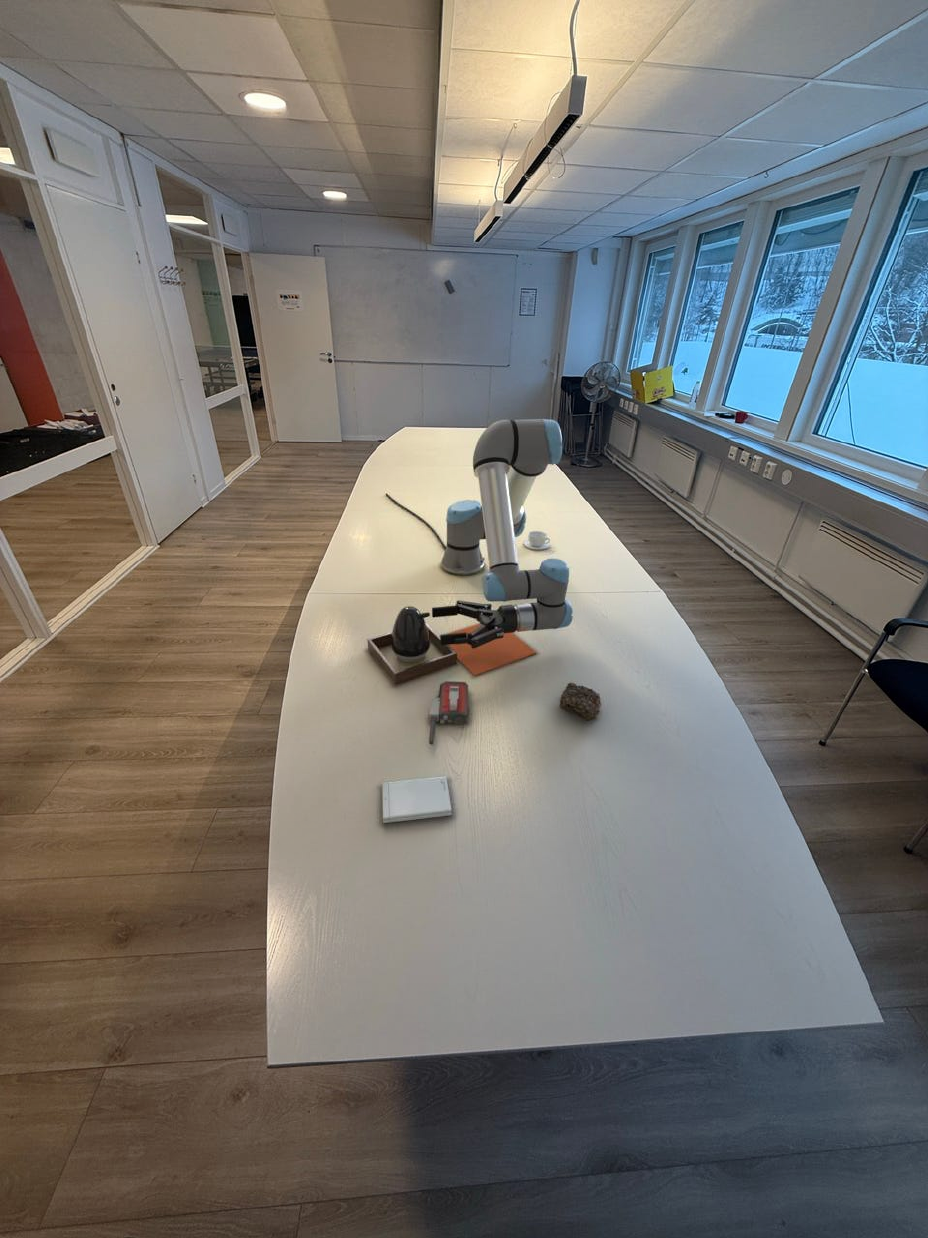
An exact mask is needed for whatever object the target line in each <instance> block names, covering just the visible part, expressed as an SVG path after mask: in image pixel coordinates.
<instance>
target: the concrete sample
mask: <svg viewBox="0 0 928 1238" xmlns="http://www.w3.org/2000/svg"><path fill="white" fill-rule="evenodd" d="M600 695H601V694H600V693H598V692H596V691H595V690H594V689H593V688H589V687H586V686H584V685H577V684H576V683H574V682H569V683H567V685H566V687H565V688H564V690H563V691H562V694H561V696H560V701H559V702H560V703H559V708H560V709H561V710H565V711H566V712H569V713H570V714H572V715H576V716H577V717H579V718H581V719H583V720H584V721H587V722H588V721H594V720H595V719H596V718H597V716H599V713H600V711H601V707H602V702H601V700H602V699H601V696H600Z"/></svg>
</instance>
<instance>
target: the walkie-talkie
mask: <svg viewBox="0 0 928 1238" xmlns="http://www.w3.org/2000/svg"><path fill="white" fill-rule="evenodd" d="M468 703H469V684H468V683H467V682H465V681H453V680H452V681H451V680H450V681H448V680H445V681H443V682H442V683H440V685H439V693H438V696H437V697H436V698H435V699H434V700H433V701H432V702H430V708H429V712H428V721H430V727H429V737H428V744H429V745H431V746H432V745H433V744H434V742H435V733H436V723H437V722H438V723H440V724H442V725H443V724H455V725H462V724H467V723H468V719H469V704H468Z"/></svg>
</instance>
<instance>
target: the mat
mask: <svg viewBox="0 0 928 1238" xmlns="http://www.w3.org/2000/svg"><path fill="white" fill-rule="evenodd" d="M480 626H481V624H480V623H477V624H474V625H471V626H468V627H465V628H462V629H458V630H455V631H452V632H449V633H448V634H454V633H464V632H466V633H467V634H469V633H471V632H472V631H474V630H475V629H477V628H478V627H480ZM476 643H477V641H476ZM449 646H450V647H451V648H452V649H453V650H454V651H455V652H456V653H457V661H458V662H460V664H461V665H462V666H463V667H464V668H465V669H467V670H468V671H469V673H471V674H472V676H474V677H477V676H479V675H482V674H485V673H487V672H490V671H493V670H496V669H498V668H501V667H504V666H507V665H508V664H509V665H510V664H512V663H515V662H517V661H520V660H523V659H525V658H528V657H531V656H533V655H536V654H537V651H536V650H534V649H533V648H532V647H530V646H529V645H528V644H526V643H525V642H524V641H523V640H521V639H520V638H519V637H518V636H517V635H515V633H505V634H504V637H503V638H499V639H495V640H493V641H491V642H488V643H486V644H484V645H482V646H479V647H477V648H475V649H473V648H471V645H468V644H451V645H449Z"/></svg>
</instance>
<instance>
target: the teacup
mask: <svg viewBox="0 0 928 1238" xmlns="http://www.w3.org/2000/svg"><path fill="white" fill-rule="evenodd" d="M527 535H528V536H527V538H528V539H527V540H525V541H524V546H525V547H527V548H528V549H531V550H546V549H549V547H550V542H551V541H550V540H551V538H550V537H548V534H547V533H546V532H544V531H539V530H533V531H530V532H528V534H527ZM547 540H548V541H547Z"/></svg>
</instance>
